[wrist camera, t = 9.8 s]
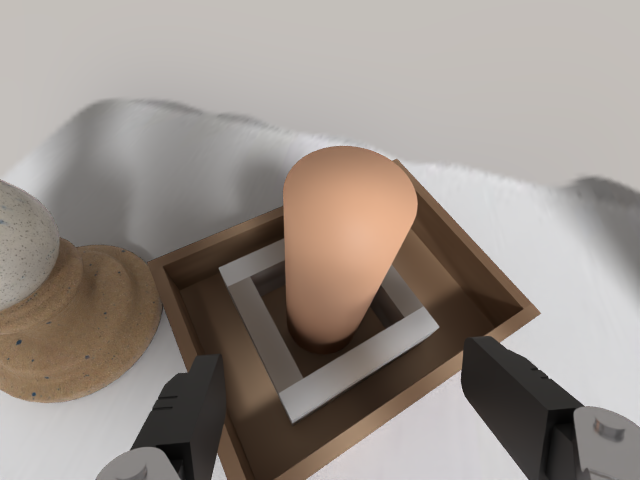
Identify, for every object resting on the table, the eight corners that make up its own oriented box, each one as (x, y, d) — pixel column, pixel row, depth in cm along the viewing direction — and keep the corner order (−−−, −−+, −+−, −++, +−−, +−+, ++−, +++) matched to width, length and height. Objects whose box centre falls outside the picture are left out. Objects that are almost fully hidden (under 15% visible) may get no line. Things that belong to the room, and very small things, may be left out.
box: (384, 196, 26) (397, 158, 22) (502, 335, 20) (541, 313, 17) (170, 292, 21) (147, 262, 17) (254, 509, 15) (243, 523, 12)
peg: (333, 275, 21) (367, 132, 12) (370, 331, 19) (445, 217, 10) (274, 304, 20) (260, 170, 10) (308, 368, 18) (327, 275, 9)
